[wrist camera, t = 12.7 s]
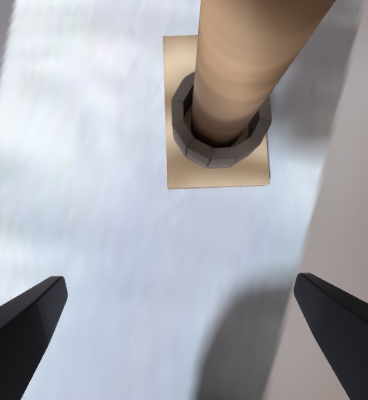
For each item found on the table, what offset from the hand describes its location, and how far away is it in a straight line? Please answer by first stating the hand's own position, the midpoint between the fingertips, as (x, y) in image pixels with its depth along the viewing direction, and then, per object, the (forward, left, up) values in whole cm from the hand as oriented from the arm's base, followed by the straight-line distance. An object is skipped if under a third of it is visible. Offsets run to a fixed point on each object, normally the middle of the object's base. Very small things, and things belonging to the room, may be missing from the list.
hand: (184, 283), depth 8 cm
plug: (+11, -4, -11) cm, 17 cm away
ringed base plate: (+14, -4, -12) cm, 19 cm away
